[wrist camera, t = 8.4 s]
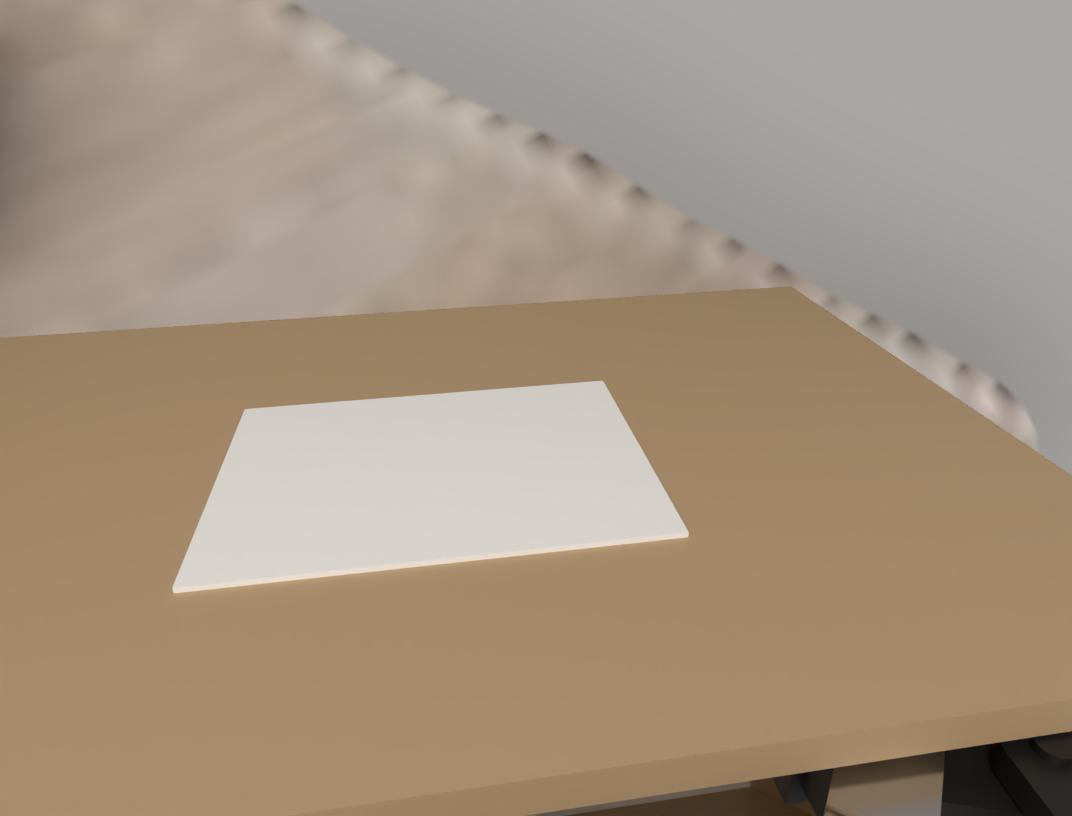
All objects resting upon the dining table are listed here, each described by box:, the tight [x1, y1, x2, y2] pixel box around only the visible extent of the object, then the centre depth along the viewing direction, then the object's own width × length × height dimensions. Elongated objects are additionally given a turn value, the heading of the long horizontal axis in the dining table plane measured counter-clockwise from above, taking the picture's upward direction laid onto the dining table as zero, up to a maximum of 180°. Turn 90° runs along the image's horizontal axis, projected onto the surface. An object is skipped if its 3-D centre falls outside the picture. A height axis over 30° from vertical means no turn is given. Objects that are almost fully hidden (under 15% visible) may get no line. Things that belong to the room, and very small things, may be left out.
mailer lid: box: [0, 287, 1072, 816], centre depth 16 cm, size 16×23×1 cm
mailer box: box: [527, 778, 817, 816], centre depth 24 cm, size 16×22×8 cm
